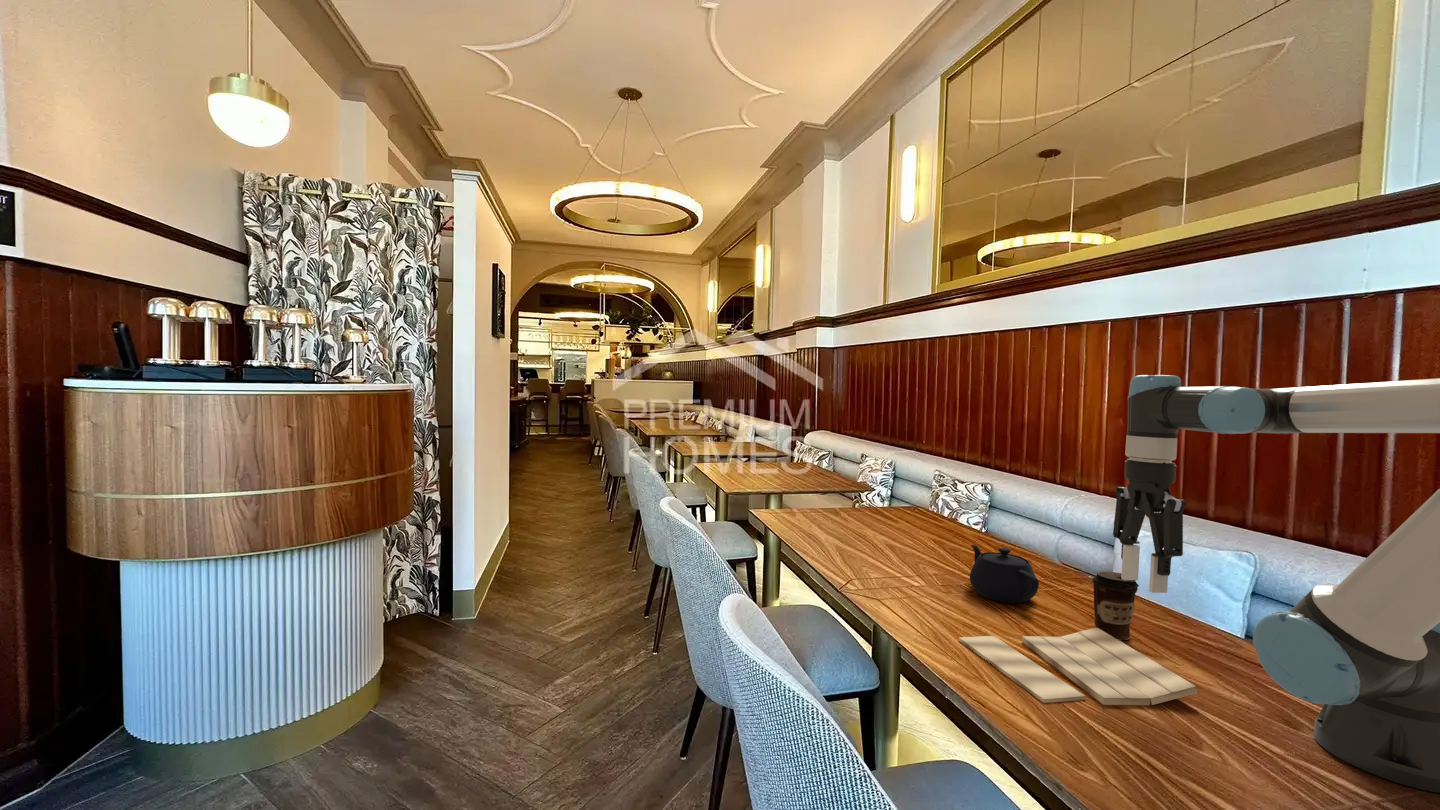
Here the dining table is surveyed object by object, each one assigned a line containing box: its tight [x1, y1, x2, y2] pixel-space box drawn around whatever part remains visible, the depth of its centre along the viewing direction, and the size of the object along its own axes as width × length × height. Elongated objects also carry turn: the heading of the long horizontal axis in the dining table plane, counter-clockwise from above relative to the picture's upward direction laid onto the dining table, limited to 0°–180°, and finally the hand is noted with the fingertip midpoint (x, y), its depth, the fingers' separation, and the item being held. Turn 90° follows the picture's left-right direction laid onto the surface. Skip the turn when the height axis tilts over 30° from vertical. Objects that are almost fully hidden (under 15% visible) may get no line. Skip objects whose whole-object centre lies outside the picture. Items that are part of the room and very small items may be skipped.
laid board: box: [1021, 635, 1151, 706], centre depth 109 cm, size 24×8×1 cm, turn 3°
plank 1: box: [958, 635, 1086, 704], centre depth 110 cm, size 24×8×1 cm, turn 11°
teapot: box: [969, 544, 1040, 604], centre depth 149 cm, size 25×16×12 cm, turn 11°
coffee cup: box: [1091, 571, 1139, 641], centre depth 126 cm, size 9×8×13 cm
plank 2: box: [1060, 627, 1198, 706], centre depth 109 cm, size 24×8×1 cm, turn 3°
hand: (1143, 585), depth 107 cm, fingers open, 6 cm apart
